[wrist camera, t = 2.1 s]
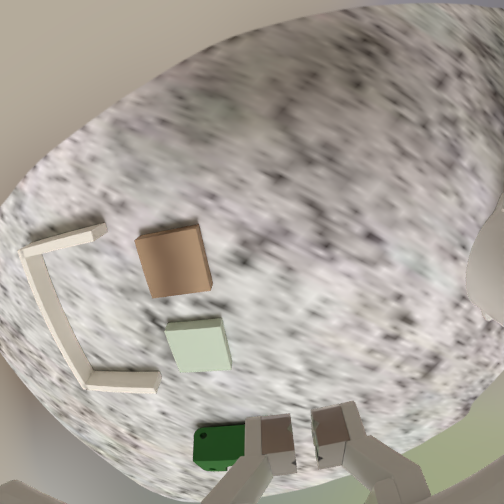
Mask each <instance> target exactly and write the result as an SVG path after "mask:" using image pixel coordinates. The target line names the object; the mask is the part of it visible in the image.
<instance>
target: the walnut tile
mask: <svg viewBox="0 0 504 504" xmlns="http://www.w3.org/2000/svg"><path fill="white" fill-rule="evenodd" d="M134 241H135V244H136V248H137V251H138V255H139V258H140V261H141V265H142V268H143V271H144V274H145V277H146V281H147V284H148V287H149V290H150V293H151V296H152V298H159V297H167V296H174V295H182V294H189V293H197V292H204V291H211V288H212V285H213V282H212V278H211V273H210V269H209V265H208V261H207V257H206V253H205V248H204V244H203V240H202V235H201V231H200V226H199V224H197V225H192V226H186V227H181V228H176V229H171V230H166V231H160V232H155V233H151V234H146V235H141V236H139V237H138V238H137V239H136V240H134Z"/></svg>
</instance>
